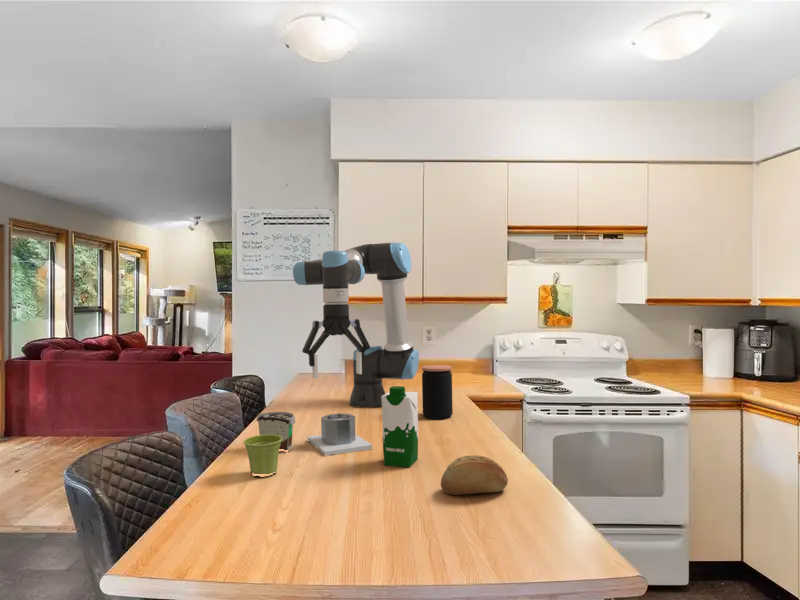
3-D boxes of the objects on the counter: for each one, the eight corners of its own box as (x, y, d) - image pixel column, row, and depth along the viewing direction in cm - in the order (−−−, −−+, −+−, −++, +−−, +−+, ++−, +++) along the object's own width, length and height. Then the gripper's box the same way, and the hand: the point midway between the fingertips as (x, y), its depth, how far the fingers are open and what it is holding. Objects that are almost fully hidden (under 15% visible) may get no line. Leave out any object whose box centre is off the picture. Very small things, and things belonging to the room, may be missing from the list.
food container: (304, 447, 156) (303, 413, 156) (291, 453, 150) (291, 417, 150) (270, 443, 161) (269, 410, 161) (257, 448, 156) (256, 414, 155)
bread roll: (514, 498, 114) (514, 461, 114) (445, 503, 113) (445, 465, 113) (501, 483, 124) (500, 448, 124) (437, 486, 122) (436, 452, 122)
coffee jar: (452, 413, 197) (451, 364, 196) (452, 420, 186) (451, 368, 186) (423, 413, 198) (422, 364, 197) (421, 420, 187) (420, 368, 187)
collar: (328, 446, 152) (327, 422, 152) (319, 439, 160) (318, 415, 160) (358, 442, 156) (358, 418, 156) (348, 435, 164) (347, 412, 164)
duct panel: (307, 440, 163) (306, 417, 163) (350, 434, 169) (350, 412, 169) (325, 456, 147) (324, 430, 147) (372, 449, 153) (371, 423, 153)
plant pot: (248, 483, 127) (247, 446, 126) (240, 472, 135) (240, 437, 135) (287, 476, 131) (286, 441, 131) (277, 465, 139) (276, 432, 139)
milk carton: (379, 466, 137) (377, 388, 137) (391, 456, 146) (390, 382, 146) (412, 469, 134) (410, 389, 134) (422, 458, 143) (420, 383, 143)
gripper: (297, 304, 149) (299, 380, 149) (379, 302, 160) (381, 373, 160) (290, 304, 156) (292, 377, 156) (370, 302, 166) (371, 370, 167)
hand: (337, 375), depth 158 cm, fingers open, 13 cm apart
